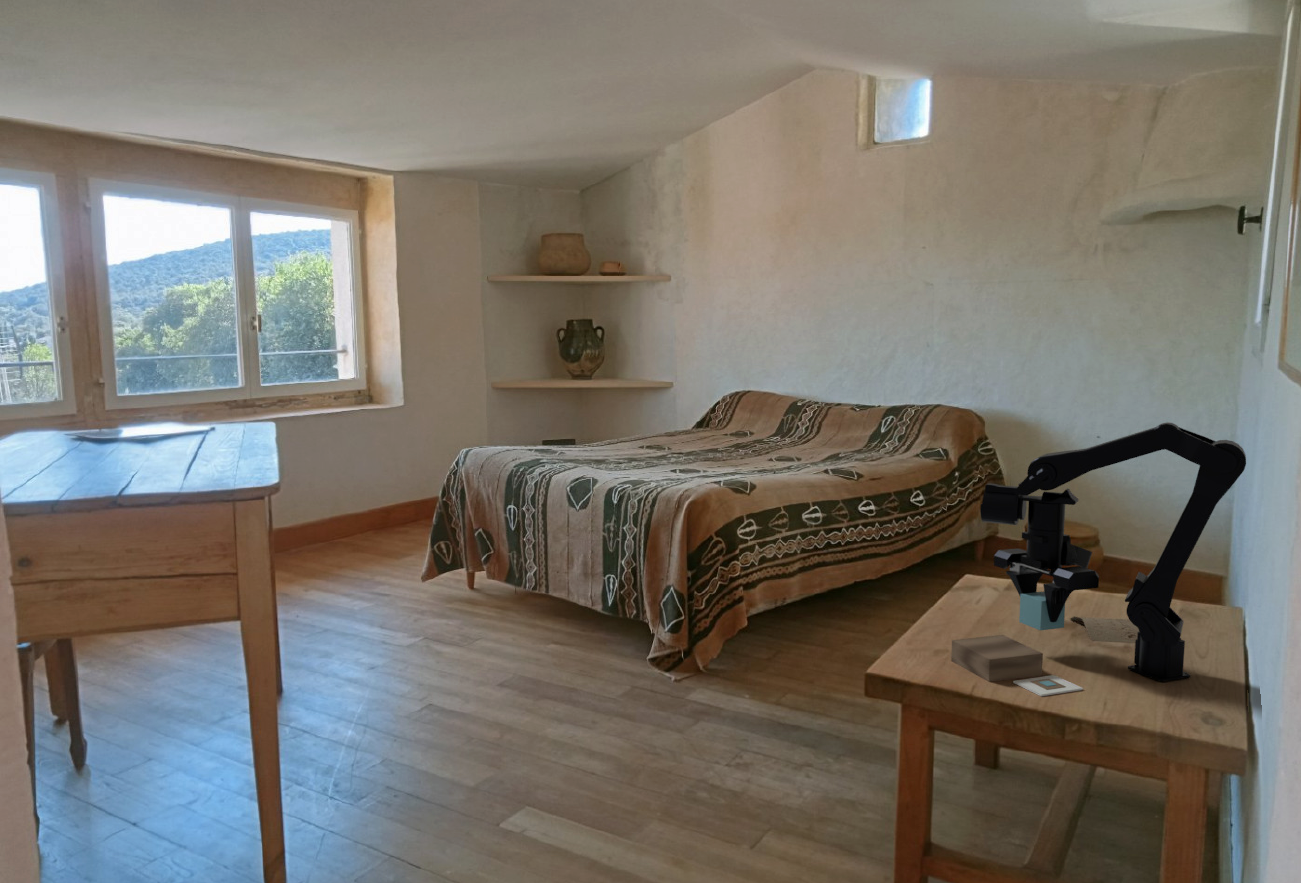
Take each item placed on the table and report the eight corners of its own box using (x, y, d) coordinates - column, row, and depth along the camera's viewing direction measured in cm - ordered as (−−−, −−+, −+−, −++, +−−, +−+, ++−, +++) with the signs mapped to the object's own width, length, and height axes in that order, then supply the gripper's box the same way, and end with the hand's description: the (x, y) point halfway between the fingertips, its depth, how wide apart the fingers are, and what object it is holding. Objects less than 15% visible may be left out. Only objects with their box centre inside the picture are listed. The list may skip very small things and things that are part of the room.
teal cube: (1063, 627, 156) (1065, 598, 155) (1040, 630, 154) (1041, 601, 153) (1042, 619, 160) (1043, 591, 160) (1019, 622, 159) (1020, 594, 158)
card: (1082, 689, 141) (1083, 686, 141) (1041, 696, 138) (1041, 693, 138) (1053, 676, 147) (1054, 673, 147) (1013, 682, 144) (1013, 679, 144)
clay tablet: (1067, 622, 178) (1068, 608, 178) (1122, 624, 176) (1123, 610, 176) (1092, 646, 164) (1093, 631, 163) (1152, 649, 162) (1153, 634, 162)
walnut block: (1041, 677, 147) (1042, 653, 147) (988, 684, 145) (989, 659, 144) (1001, 657, 157) (1002, 634, 157) (951, 663, 154) (951, 640, 154)
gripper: (1127, 535, 149) (1122, 628, 151) (1043, 515, 167) (1039, 599, 168) (1073, 540, 146) (1068, 635, 147) (993, 519, 163) (990, 605, 165)
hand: (1041, 617), depth 157 cm, fingers closed on teal cube, 5 cm apart
